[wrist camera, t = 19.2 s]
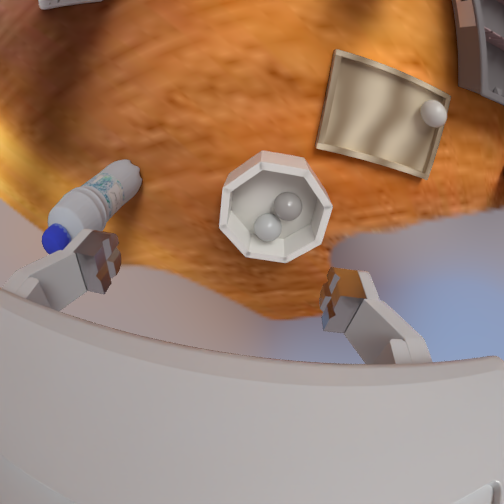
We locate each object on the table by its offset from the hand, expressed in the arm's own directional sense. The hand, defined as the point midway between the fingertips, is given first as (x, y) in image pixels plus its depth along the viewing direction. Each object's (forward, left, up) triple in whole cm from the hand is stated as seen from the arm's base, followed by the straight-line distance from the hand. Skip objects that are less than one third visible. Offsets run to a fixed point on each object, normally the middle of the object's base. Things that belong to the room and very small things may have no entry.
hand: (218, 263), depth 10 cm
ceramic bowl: (+4, -10, -29) cm, 31 cm away
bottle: (-19, -9, -29) cm, 36 cm away
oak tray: (+17, +6, -29) cm, 34 cm away
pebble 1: (+4, -11, -26) cm, 29 cm away
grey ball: (+5, -11, -28) cm, 30 cm away
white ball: (+23, +9, -29) cm, 38 cm away
